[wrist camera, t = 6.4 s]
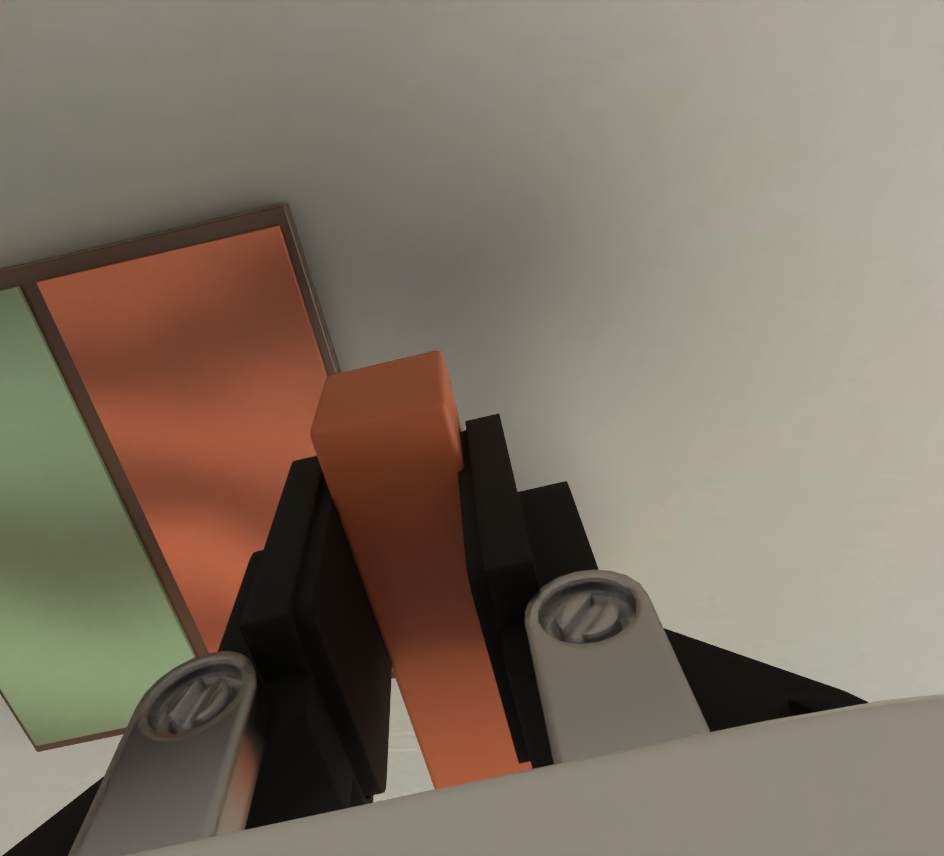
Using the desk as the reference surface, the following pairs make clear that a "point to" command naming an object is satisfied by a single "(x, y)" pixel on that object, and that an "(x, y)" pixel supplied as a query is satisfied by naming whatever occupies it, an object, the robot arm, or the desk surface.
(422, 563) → the spoon terracotta
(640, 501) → the desk surface
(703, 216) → the desk surface
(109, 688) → the board
